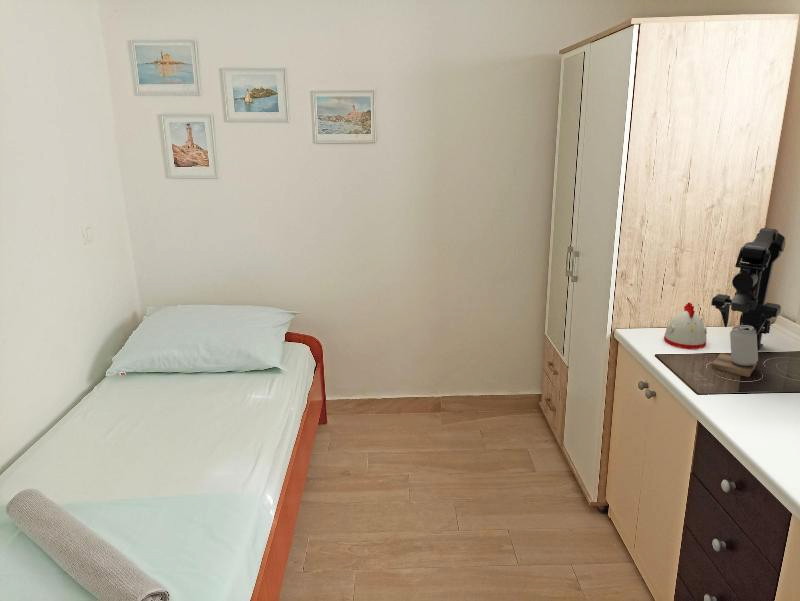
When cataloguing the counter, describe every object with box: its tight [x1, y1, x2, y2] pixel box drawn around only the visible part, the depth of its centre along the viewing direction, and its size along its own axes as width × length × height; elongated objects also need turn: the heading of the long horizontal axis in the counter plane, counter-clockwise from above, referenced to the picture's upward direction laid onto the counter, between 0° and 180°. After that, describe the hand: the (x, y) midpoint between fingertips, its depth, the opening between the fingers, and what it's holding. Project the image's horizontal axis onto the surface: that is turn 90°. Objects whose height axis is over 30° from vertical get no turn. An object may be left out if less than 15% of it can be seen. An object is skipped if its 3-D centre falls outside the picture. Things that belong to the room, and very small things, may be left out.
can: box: [729, 325, 759, 366], centre depth 195 cm, size 8×8×12 cm
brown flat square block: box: [711, 352, 758, 378], centre depth 199 cm, size 11×11×2 cm
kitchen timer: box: [663, 302, 708, 350], centre depth 218 cm, size 14×14×15 cm
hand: (741, 330), depth 195 cm, fingers open, 9 cm apart
